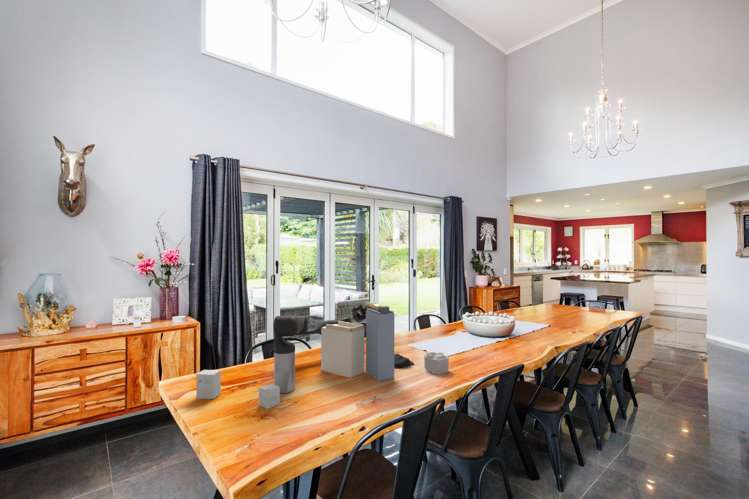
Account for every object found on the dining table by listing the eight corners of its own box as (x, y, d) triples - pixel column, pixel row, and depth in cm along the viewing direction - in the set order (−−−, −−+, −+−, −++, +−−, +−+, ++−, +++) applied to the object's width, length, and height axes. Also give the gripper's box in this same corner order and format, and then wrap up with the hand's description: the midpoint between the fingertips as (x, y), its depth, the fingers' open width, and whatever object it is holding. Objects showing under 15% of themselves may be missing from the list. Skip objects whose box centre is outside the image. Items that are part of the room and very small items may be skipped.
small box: (221, 394, 154) (221, 370, 154) (213, 399, 148) (214, 374, 148) (203, 393, 154) (203, 369, 154) (195, 398, 149) (196, 373, 149)
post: (394, 378, 174) (394, 311, 174) (377, 381, 170) (378, 312, 170) (381, 369, 186) (381, 307, 187) (365, 372, 182) (366, 308, 183)
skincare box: (271, 400, 147) (271, 382, 147) (280, 404, 144) (280, 386, 144) (258, 405, 143) (258, 387, 143) (267, 409, 139) (267, 390, 139)
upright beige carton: (364, 371, 183) (364, 324, 183) (351, 378, 174) (351, 328, 174) (334, 364, 194) (335, 320, 194) (321, 370, 185) (321, 323, 185)
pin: (389, 313, 174) (389, 306, 174) (380, 314, 172) (380, 307, 172) (370, 307, 194) (370, 301, 194) (362, 307, 192) (362, 301, 192)
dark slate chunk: (393, 355, 213) (393, 348, 213) (416, 366, 194) (416, 357, 194) (372, 359, 205) (372, 351, 205) (393, 370, 186) (393, 361, 186)
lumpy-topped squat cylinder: (437, 375, 179) (437, 358, 179) (419, 368, 189) (419, 352, 189) (451, 371, 185) (451, 354, 185) (433, 364, 195) (433, 349, 195)
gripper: (345, 310, 201) (355, 299, 189) (368, 309, 207) (379, 298, 195) (348, 323, 198) (358, 312, 185) (371, 321, 204) (382, 311, 191)
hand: (369, 305), depth 190 cm, fingers open, 8 cm apart
